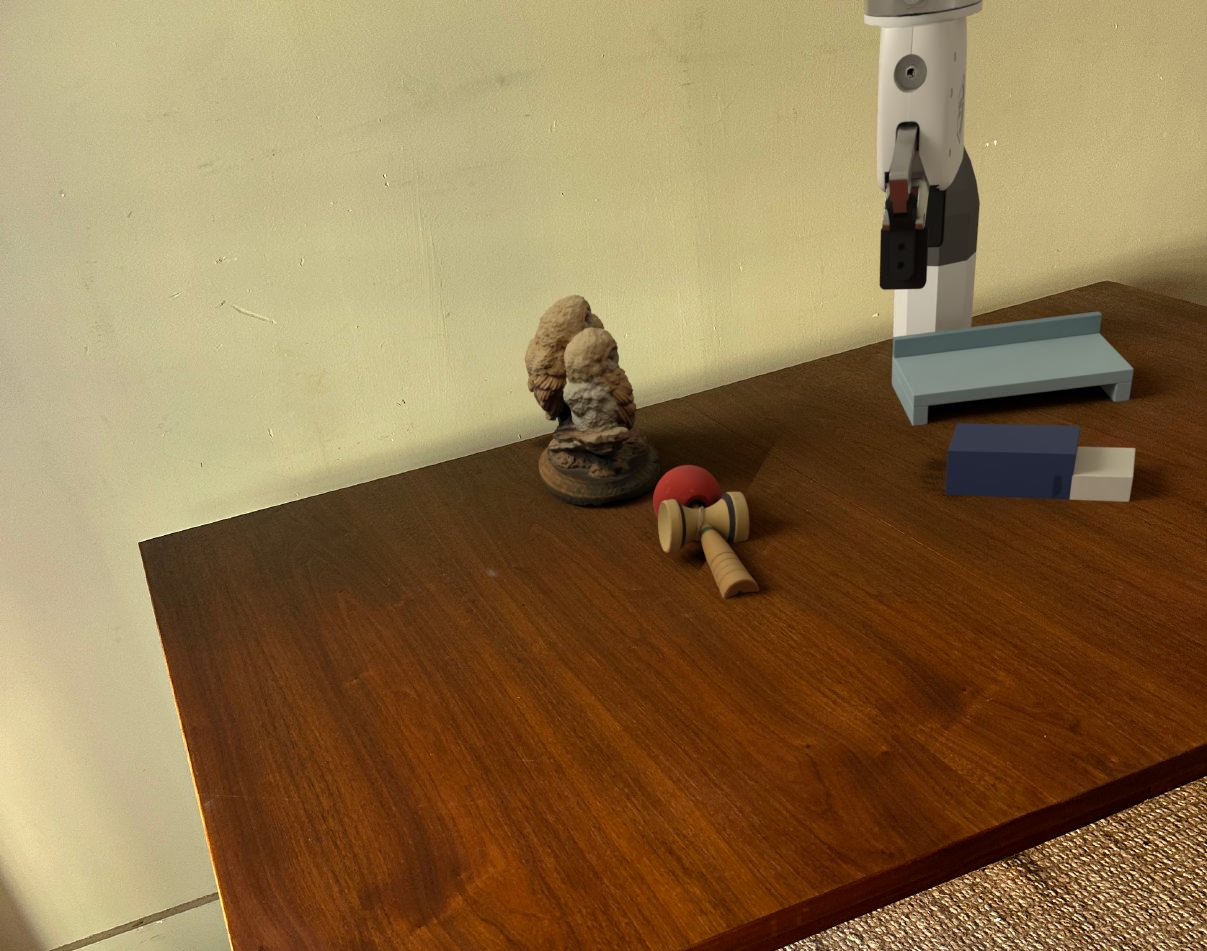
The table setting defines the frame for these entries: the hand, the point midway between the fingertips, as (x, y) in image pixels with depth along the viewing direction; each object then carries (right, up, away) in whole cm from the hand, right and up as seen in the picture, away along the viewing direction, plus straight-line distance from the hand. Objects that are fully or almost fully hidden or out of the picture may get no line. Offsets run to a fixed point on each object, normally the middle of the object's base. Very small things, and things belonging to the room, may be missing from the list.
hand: (912, 266), depth 88 cm
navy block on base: (+13, -14, +14) cm, 24 cm away
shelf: (+17, -1, +29) cm, 34 cm away
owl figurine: (-23, -7, +29) cm, 38 cm away
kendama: (-14, -19, +13) cm, 27 cm away
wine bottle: (+13, +9, +42) cm, 44 cm away
